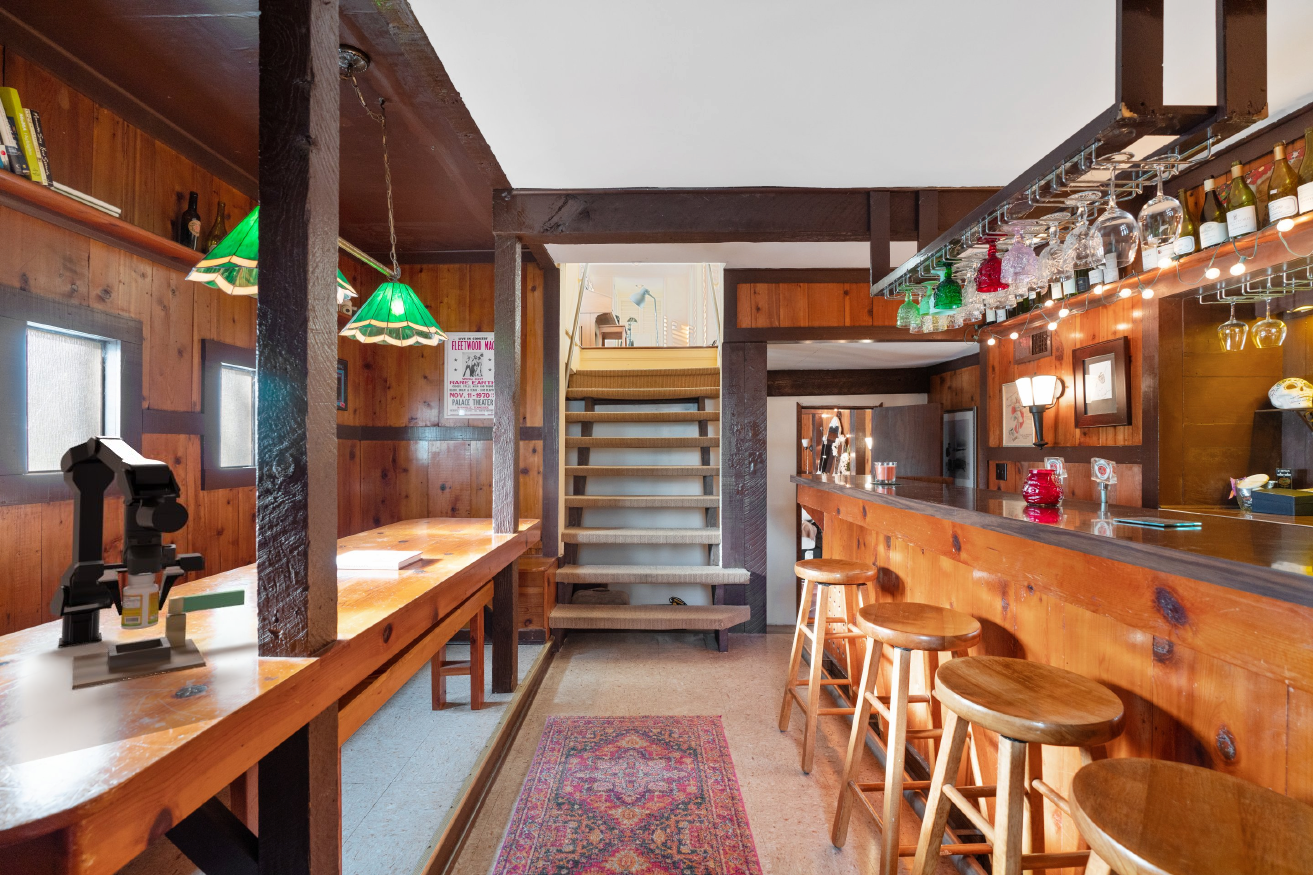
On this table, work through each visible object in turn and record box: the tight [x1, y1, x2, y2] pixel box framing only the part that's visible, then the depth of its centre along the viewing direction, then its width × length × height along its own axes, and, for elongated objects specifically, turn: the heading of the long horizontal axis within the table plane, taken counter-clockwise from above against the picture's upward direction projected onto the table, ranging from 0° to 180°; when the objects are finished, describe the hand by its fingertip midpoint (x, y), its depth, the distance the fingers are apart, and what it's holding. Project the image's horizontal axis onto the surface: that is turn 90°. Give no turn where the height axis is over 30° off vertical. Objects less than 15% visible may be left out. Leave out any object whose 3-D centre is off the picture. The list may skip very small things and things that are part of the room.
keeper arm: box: [167, 588, 246, 614], centre depth 129 cm, size 13×3×3 cm, turn 133°
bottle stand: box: [72, 612, 206, 690], centre depth 116 cm, size 20×18×7 cm
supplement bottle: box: [120, 573, 160, 631], centre depth 116 cm, size 5×5×10 cm
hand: (140, 612), depth 116 cm, fingers closed on supplement bottle, 5 cm apart
